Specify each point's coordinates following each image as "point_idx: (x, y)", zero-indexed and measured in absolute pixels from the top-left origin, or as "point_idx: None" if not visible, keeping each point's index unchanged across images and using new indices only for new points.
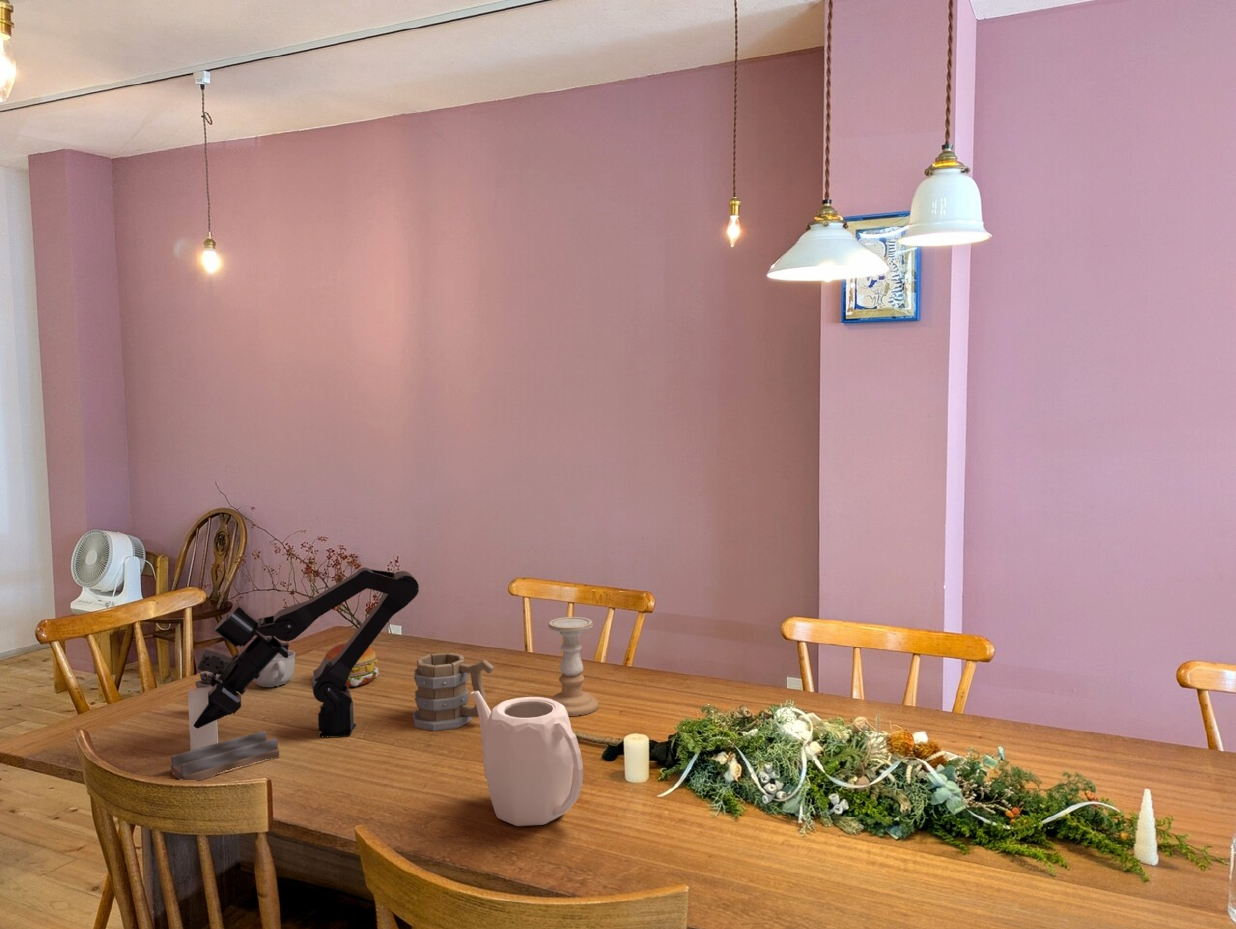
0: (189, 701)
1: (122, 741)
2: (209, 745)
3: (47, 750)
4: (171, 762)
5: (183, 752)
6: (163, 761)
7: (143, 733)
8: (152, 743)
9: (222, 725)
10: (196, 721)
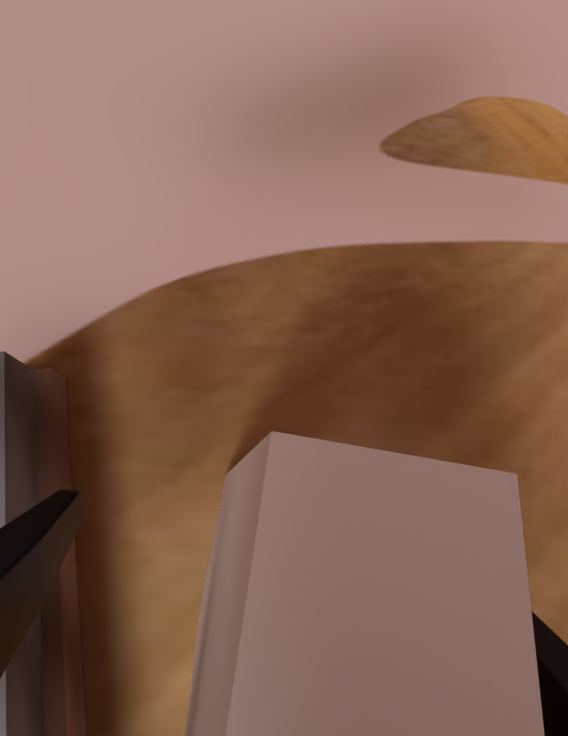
0: (249, 468)
1: (487, 283)
2: None
3: (483, 141)
4: (23, 364)
5: (4, 415)
6: (223, 368)
7: (539, 344)
8: (435, 357)
9: None
10: (13, 520)
